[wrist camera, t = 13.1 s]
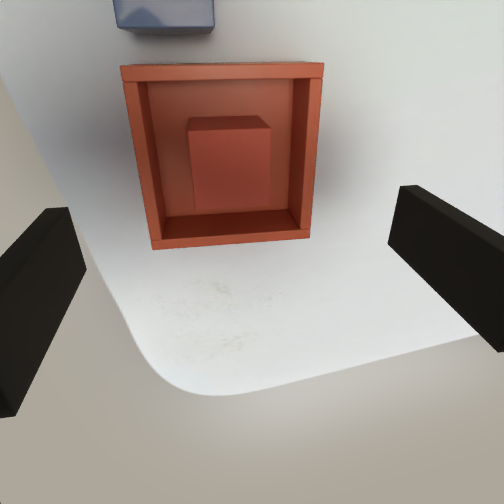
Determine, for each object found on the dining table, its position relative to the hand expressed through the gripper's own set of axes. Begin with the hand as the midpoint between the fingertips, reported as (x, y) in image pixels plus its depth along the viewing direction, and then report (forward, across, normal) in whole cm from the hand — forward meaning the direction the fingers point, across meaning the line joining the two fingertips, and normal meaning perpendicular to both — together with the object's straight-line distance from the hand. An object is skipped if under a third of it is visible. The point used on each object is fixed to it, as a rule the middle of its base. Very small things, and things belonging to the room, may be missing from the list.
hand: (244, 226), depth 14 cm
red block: (+14, 0, 0) cm, 14 cm away
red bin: (+14, 0, 0) cm, 14 cm away
